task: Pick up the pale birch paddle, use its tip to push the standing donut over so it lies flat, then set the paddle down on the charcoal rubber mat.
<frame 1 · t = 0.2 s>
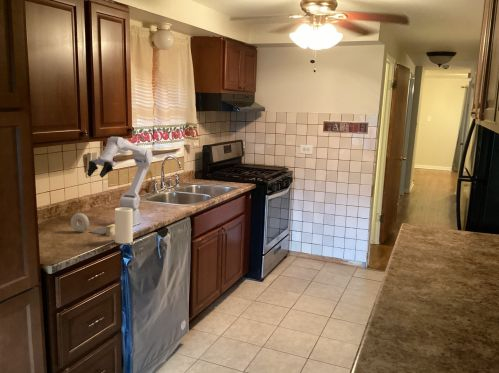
hand: (94, 175, 220), 31 cm above the countertop, tool tilted 45°, fingers open, 7 cm apart
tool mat: (107, 229, 237), on the countertop
donut: (80, 232, 232), on the countertop
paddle: (116, 233, 233), on the countertop
cup: (124, 241, 218), on the countertop
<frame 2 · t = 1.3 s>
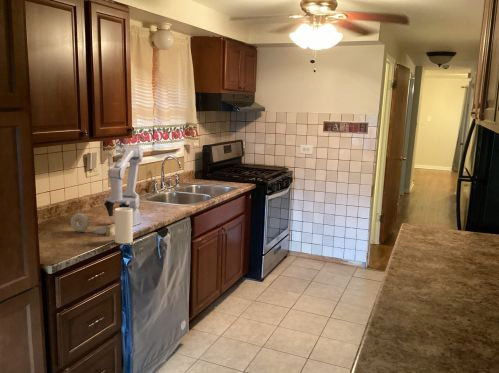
hand: (116, 216, 231), 8 cm above the countertop, tool pointing down, fingers open, 7 cm apart
nothing on the countertop moved.
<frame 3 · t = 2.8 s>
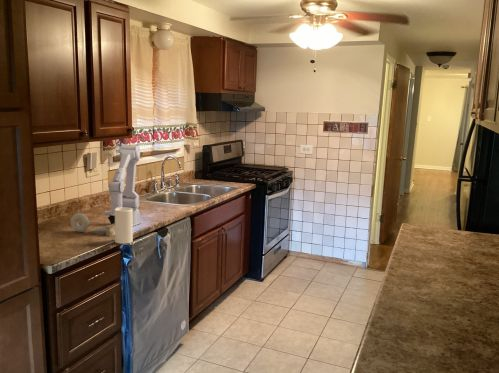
hand: (116, 230, 232), 1 cm above the countertop, tool pointing down, fingers closed on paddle, 2 cm apart
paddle: (116, 232, 233), on the countertop, touching gripper
everything else where it was.
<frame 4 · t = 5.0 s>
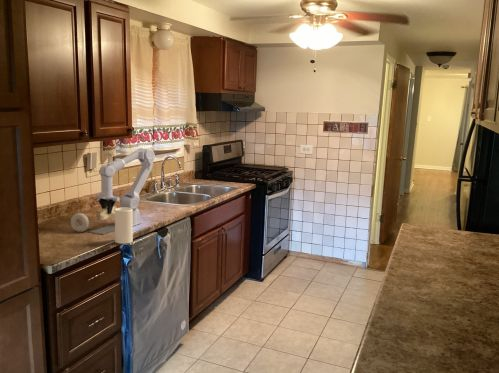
hand: (107, 213, 239), 8 cm above the countertop, tool pointing down, fingers closed on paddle, 2 cm apart
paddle: (107, 217, 239), point 6 cm above the countertop, touching gripper
everything else where it was.
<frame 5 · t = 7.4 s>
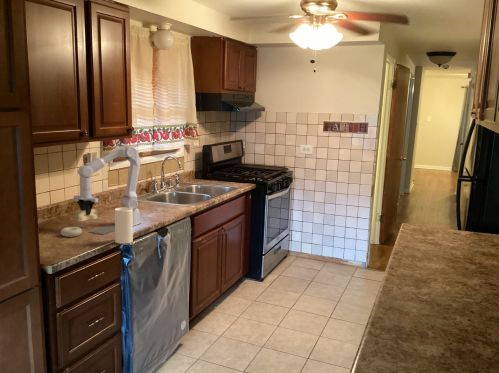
hand: (86, 214, 234), 8 cm above the countertop, tool pointing down, fingers closed on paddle, 2 cm apart
donut: (78, 229, 230), point 2 cm above the countertop
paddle: (86, 219, 235), point 5 cm above the countertop, tilted 5°, touching gripper
everything else where it was.
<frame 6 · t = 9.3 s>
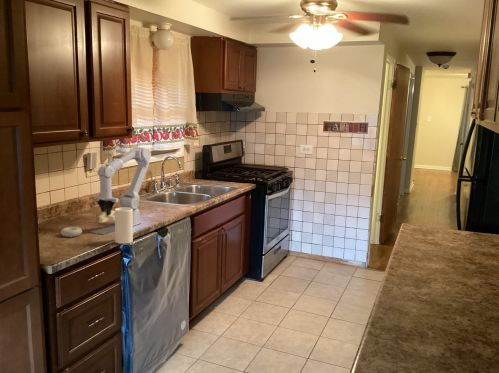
hand: (106, 214, 236), 8 cm above the countertop, tool pointing down, fingers closed on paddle, 2 cm apart
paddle: (106, 221, 237), point 5 cm above the countertop, tilted 5°, touching gripper
everything else where it was.
when the fingers open (3 cm above the countertop, at t = 10.6 s): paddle stays where it is, resting on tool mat.
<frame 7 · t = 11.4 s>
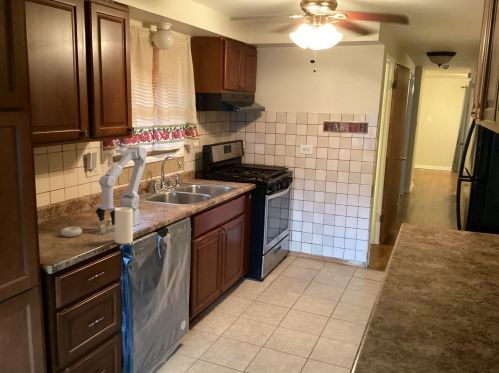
hand: (107, 223, 237), 3 cm above the countertop, tool pointing down, fingers open, 7 cm apart
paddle: (108, 229, 237), resting on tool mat
everything else where it was.
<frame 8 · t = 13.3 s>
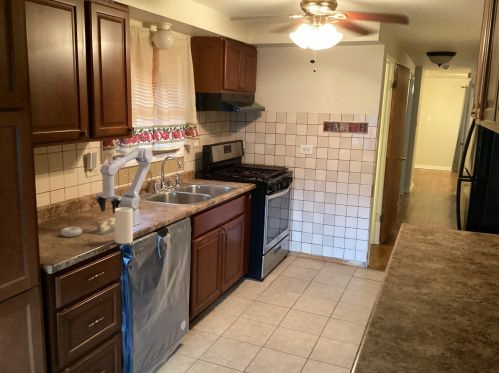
hand: (108, 212, 237), 9 cm above the countertop, tool pointing down, fingers open, 7 cm apart
nothing on the countertop moved.
at the end: donut tilted 91°; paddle inside the target area on the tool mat (0.1 cm from its centre), point 0.5 cm above the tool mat's base; the gripper is holding nothing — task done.
